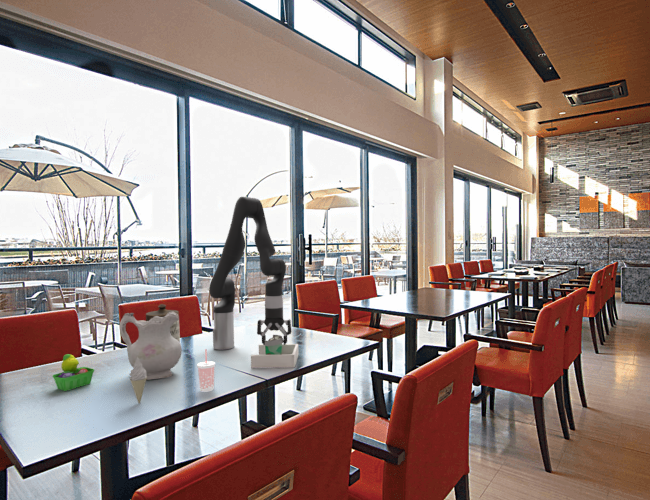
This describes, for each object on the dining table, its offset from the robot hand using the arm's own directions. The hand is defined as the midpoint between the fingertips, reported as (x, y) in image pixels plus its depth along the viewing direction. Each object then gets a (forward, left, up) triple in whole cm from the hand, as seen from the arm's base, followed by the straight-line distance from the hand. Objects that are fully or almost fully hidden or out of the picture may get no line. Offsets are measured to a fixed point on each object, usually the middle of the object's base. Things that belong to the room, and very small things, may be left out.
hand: (274, 344), depth 178 cm
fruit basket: (-69, -28, -7) cm, 75 cm away
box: (0, 0, -7) cm, 7 cm away
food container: (+1, 0, -7) cm, 7 cm away
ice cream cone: (-37, -45, -7) cm, 59 cm away
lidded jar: (-56, +20, -7) cm, 60 cm away
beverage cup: (-19, -33, -7) cm, 39 cm away
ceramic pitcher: (-45, -17, -7) cm, 48 cm away
